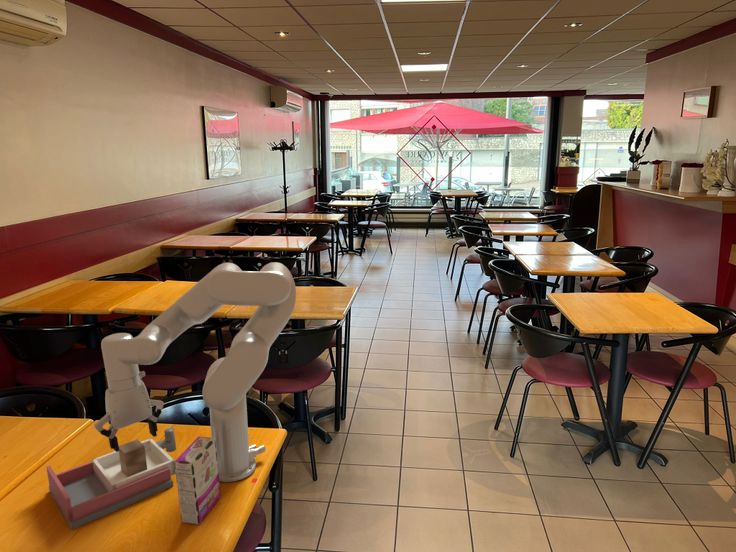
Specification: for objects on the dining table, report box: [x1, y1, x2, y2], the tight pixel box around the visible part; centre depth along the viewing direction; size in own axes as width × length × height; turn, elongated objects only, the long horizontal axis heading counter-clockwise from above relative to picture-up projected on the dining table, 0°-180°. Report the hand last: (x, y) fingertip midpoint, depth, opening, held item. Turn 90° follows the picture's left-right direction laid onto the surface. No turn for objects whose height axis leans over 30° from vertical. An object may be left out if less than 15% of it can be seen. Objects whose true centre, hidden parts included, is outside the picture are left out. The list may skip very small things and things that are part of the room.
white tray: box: [91, 427, 177, 492], centre depth 143 cm, size 20×16×7 cm
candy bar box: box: [174, 436, 222, 526], centre depth 128 cm, size 11×5×16 cm, turn 168°
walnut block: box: [118, 439, 147, 477], centre depth 141 cm, size 5×5×7 cm
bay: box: [46, 460, 174, 530], centre depth 137 cm, size 24×20×8 cm
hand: (135, 442), depth 140 cm, fingers open, 9 cm apart
